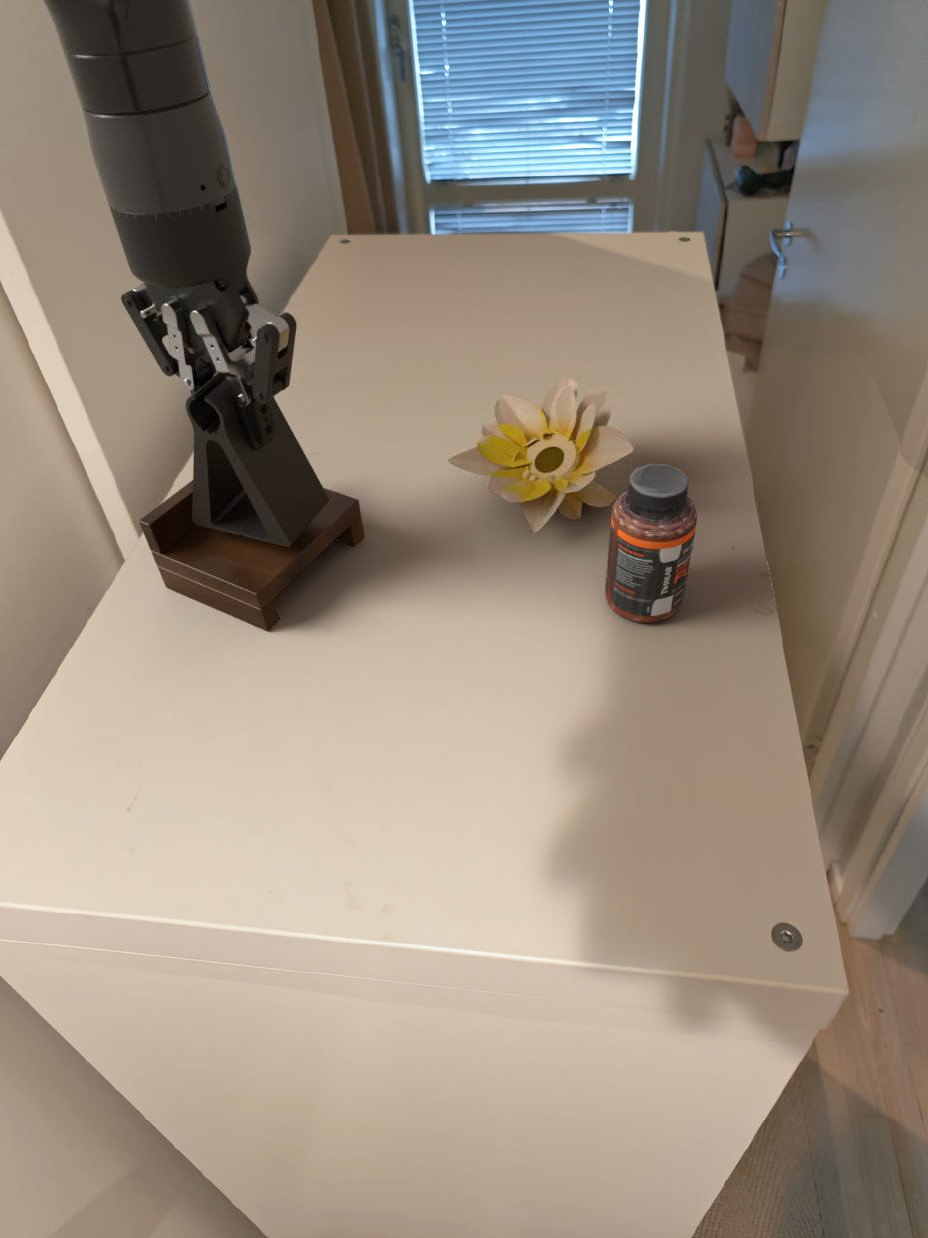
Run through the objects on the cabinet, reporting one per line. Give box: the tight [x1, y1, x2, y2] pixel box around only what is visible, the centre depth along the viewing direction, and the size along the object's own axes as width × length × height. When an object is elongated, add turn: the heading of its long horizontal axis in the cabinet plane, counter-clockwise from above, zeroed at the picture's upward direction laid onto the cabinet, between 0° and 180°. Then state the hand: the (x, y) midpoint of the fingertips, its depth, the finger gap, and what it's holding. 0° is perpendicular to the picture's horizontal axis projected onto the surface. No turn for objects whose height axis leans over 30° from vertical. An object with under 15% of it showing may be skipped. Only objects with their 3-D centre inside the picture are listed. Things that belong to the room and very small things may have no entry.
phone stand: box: [185, 367, 329, 547], centre depth 63 cm, size 9×6×12 cm, turn 67°
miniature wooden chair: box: [138, 479, 366, 632], centre depth 69 cm, size 13×11×7 cm
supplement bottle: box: [604, 463, 698, 624], centre depth 62 cm, size 6×6×11 cm
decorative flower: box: [447, 377, 634, 533], centre depth 73 cm, size 15×11×10 cm
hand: (240, 435), depth 62 cm, fingers closed on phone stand, 3 cm apart
